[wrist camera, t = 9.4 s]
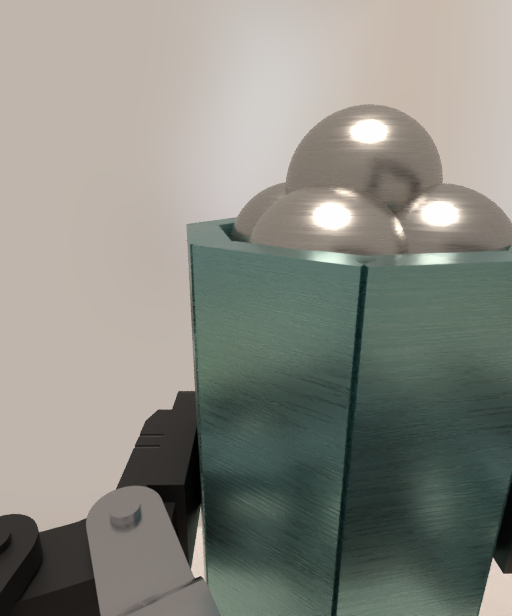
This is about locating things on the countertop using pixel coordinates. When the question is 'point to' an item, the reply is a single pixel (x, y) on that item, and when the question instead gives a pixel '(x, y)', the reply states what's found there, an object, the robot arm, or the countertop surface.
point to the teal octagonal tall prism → (354, 381)
